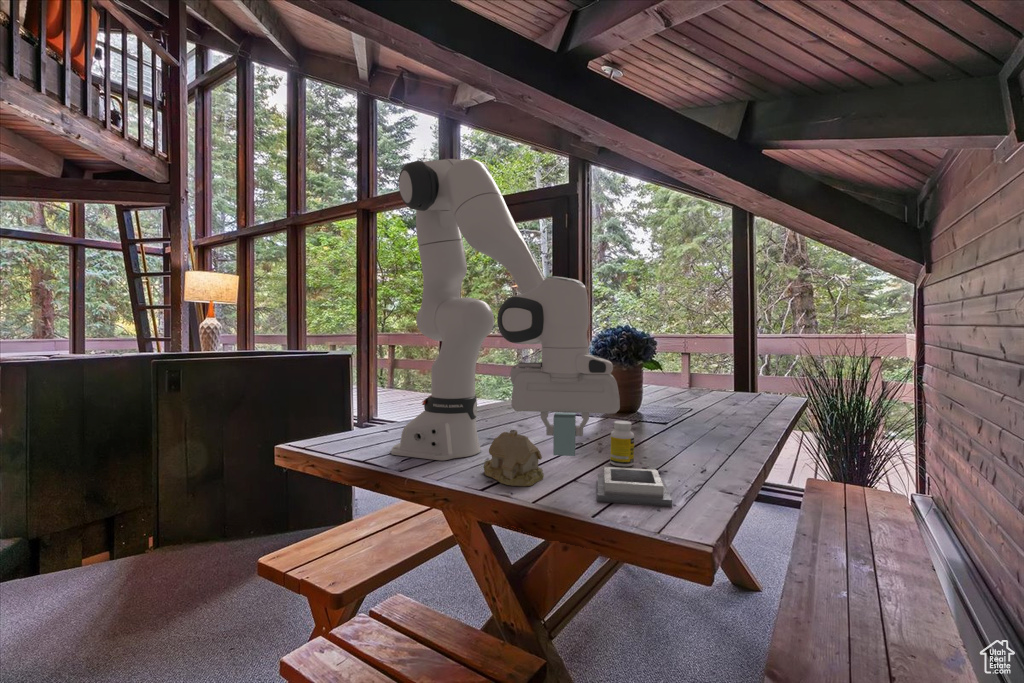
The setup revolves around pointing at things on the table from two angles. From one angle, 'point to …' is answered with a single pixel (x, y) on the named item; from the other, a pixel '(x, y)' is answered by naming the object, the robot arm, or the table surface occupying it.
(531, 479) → the ceramic model
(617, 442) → the supplement bottle
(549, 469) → the table surface
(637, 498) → the collar socket
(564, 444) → the block
